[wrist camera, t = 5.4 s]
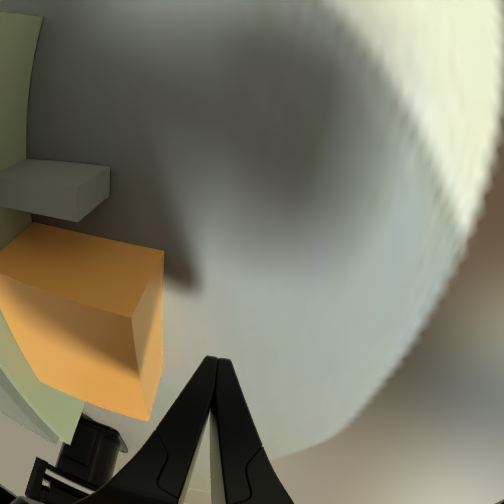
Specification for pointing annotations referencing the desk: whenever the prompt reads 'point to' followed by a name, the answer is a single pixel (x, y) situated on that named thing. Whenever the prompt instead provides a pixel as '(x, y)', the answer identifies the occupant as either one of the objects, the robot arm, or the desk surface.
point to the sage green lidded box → (19, 218)
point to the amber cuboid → (87, 315)
